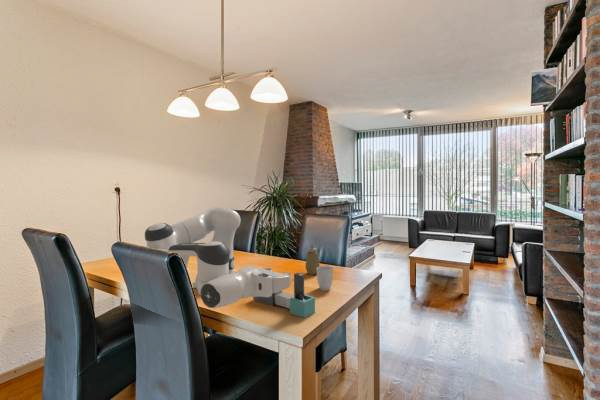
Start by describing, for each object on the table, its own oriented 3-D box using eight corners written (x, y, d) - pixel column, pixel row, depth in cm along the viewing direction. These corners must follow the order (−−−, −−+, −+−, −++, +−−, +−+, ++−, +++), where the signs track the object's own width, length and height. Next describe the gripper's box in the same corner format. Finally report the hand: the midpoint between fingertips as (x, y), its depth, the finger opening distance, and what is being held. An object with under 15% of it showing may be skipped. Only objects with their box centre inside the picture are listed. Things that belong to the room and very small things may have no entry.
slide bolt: (272, 303, 126) (271, 269, 125) (278, 300, 129) (278, 267, 129) (303, 313, 115) (303, 277, 115) (310, 310, 119) (310, 274, 118)
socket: (289, 313, 118) (289, 298, 118) (300, 307, 123) (300, 293, 123) (304, 318, 114) (304, 302, 113) (314, 312, 119) (314, 297, 118)
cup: (336, 287, 147) (336, 267, 147) (329, 292, 140) (329, 271, 140) (321, 284, 152) (321, 265, 151) (313, 289, 145) (313, 269, 144)
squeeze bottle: (308, 276, 166) (307, 243, 165) (303, 272, 174) (303, 241, 173) (321, 274, 168) (321, 242, 167) (316, 271, 176) (316, 240, 175)
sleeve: (253, 299, 132) (253, 286, 132) (263, 296, 137) (263, 282, 137) (272, 306, 125) (272, 292, 125) (282, 302, 129) (281, 288, 129)
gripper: (230, 284, 105) (259, 275, 116) (272, 298, 92) (300, 286, 103) (229, 266, 105) (259, 258, 115) (272, 278, 92) (300, 268, 103)
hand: (279, 272), depth 109 cm, fingers open, 8 cm apart
